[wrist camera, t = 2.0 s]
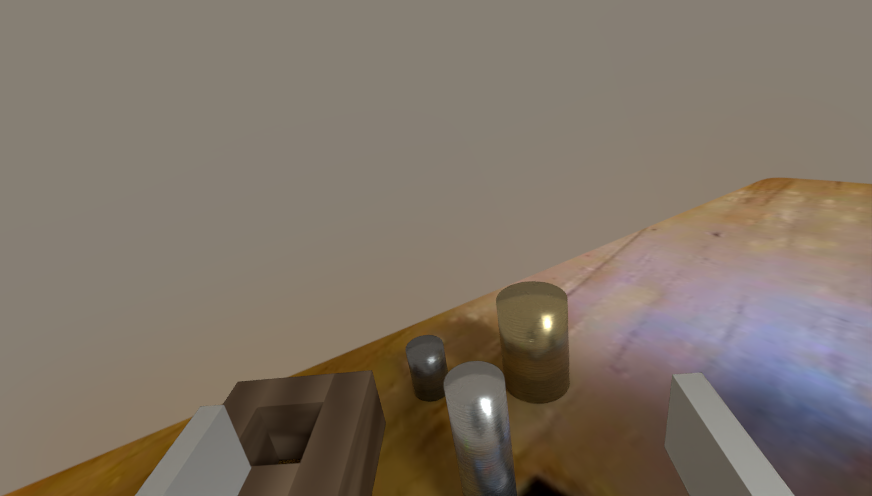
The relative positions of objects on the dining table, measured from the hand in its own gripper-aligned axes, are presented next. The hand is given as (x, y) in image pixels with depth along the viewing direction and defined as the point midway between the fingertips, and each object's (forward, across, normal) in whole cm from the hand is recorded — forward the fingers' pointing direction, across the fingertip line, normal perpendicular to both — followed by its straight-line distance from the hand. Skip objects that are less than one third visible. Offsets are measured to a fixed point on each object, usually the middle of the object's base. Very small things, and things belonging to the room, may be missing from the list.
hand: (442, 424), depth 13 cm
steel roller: (+10, +1, -19) cm, 22 cm away
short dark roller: (+23, -4, -19) cm, 30 cm away
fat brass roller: (+23, +6, -19) cm, 30 cm away
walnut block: (+13, -14, -19) cm, 27 cm away
